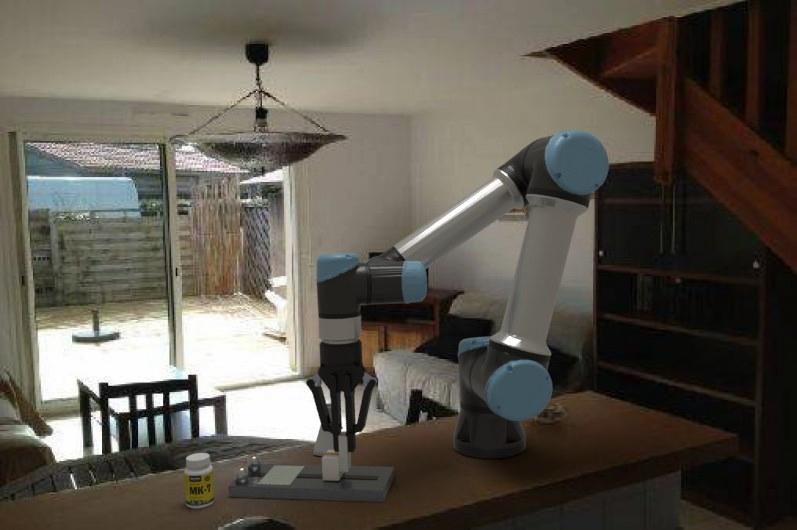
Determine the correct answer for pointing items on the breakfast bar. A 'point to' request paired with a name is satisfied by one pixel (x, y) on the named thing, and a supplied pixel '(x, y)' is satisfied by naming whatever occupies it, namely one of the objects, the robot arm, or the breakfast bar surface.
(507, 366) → the robot arm
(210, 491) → the supplement bottle
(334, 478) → the fader
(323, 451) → the flask
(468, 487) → the breakfast bar surface
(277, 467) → the console
